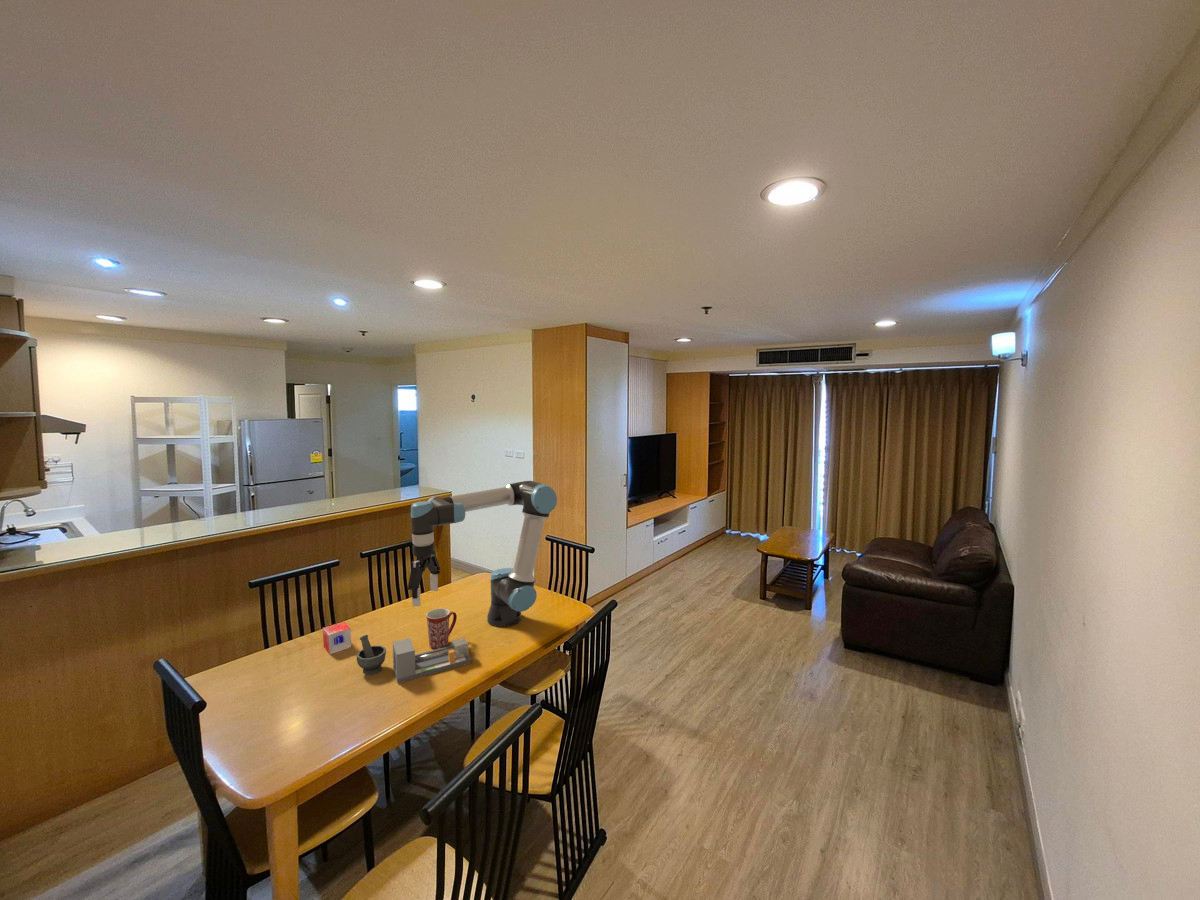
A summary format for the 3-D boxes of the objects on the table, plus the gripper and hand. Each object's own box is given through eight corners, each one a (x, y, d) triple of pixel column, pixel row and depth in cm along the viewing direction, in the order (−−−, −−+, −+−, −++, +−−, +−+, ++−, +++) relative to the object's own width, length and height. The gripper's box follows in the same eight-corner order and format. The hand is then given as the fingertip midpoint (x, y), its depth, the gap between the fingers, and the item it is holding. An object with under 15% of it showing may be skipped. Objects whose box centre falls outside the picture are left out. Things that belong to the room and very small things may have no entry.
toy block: (345, 639, 194) (344, 621, 193) (351, 647, 188) (350, 628, 187) (323, 646, 188) (322, 628, 187) (329, 654, 182) (328, 635, 182)
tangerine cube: (453, 659, 176) (453, 649, 176) (455, 661, 175) (454, 651, 174) (448, 660, 175) (448, 650, 175) (449, 663, 174) (449, 653, 173)
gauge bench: (464, 650, 186) (463, 625, 185) (471, 662, 178) (471, 636, 177) (393, 669, 173) (392, 642, 172) (397, 683, 164) (396, 654, 163)
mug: (434, 653, 184) (433, 620, 183) (422, 645, 190) (421, 613, 189) (462, 641, 194) (462, 610, 192) (450, 634, 199) (450, 603, 198)
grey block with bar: (464, 649, 184) (464, 637, 183) (469, 658, 178) (469, 645, 177) (411, 663, 174) (411, 650, 173) (415, 673, 168) (414, 659, 167)
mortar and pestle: (391, 668, 173) (390, 637, 172) (366, 680, 166) (365, 648, 164) (375, 658, 180) (374, 628, 179) (350, 670, 172) (349, 638, 171)
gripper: (429, 533, 188) (432, 584, 190) (395, 554, 163) (398, 612, 166) (447, 534, 187) (449, 585, 189) (415, 555, 162) (418, 613, 165)
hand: (425, 598), depth 178 cm, fingers open, 13 cm apart
